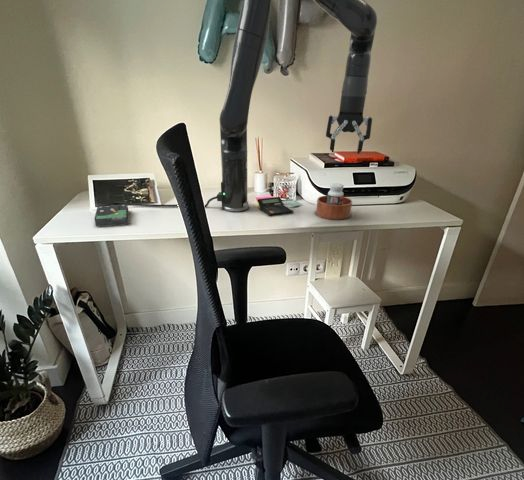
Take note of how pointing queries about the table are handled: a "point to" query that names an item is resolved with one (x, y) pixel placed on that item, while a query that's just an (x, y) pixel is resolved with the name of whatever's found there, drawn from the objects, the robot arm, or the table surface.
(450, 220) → the table surface
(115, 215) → the disk drive
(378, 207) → the table surface
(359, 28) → the robot arm
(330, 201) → the pill bottle
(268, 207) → the calculator
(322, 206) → the dish
